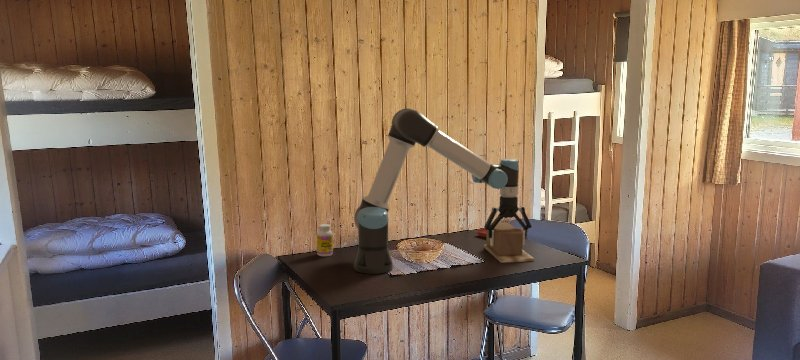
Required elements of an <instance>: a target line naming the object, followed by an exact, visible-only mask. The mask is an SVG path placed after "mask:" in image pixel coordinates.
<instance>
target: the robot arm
mask: <svg viewBox="0 0 800 360" xmlns="http://www.w3.org/2000/svg"><path fill="white" fill-rule="evenodd" d="M389 129H390V130H389V131H388V135H387V137H388V139H389V141H388V144H387V146H386V150H385V151H384V155H383V156H382V160H381V162H380V164H379V168H378V169H377V172H376V175H375V177H374V180H373V182H372V185H371V186H370V190H369V193H368V194H367V195H366V196H365V197H362V200H361V202H360V205H359V206H358V208H357V209H356V210H355V212H354V217H353V218H354V225H355V226H356V228H357V234H358V238H357V239H358V241H357V242H358V243H357V245H358V248H357V249H358V250H357V253H356V257H355V260H354V263H353V269H354V271H356V272H358V273H361V274H369V275H375V274H376V275H378V274H383V273H385V274H386V273H388V272H390V271H392V270H393V268H394V267H393V264H394V263H393V260H392V257H391V254H390V251H389V219H390V218H389V213H388V212H389V211H390V206H389V204H388V203H389V200H390V198H391V195H392V193H393V191H394V188H395V186H396V183H397V182H398V181H397V180H398V178H399V175H400V172H401V171H402V168H403V165H404V164H405V161H406V157H407V156H408V153H409V151H410V149H412V148H414V147H415V146H416V144H419V145H420V146H422V147H423V148H427V147H428V148H430V149H432V150H433V151H434V152H436V153H438V154H439V155H441V156H442V157H443V158H446V159H447V160H449V161H451V162H452V163H453V164H455V165H457V166H458V167H460V168H461V169H463V170H465V171H466V172H467V173H469V174H470V175H471V179H472V181H473V183H478V184H486V185H487V186H489V187H490V188H493V189H496V190H499V206H498V207H495V206H492V207H491V213H490V214H489V216H488V218H487V220H486V222H485V223H484V226H483V228H485V229H486V230H488V237H489V238H490V245H491V246H494V231H493V229H494V228H495V226H496V225H497V224H498V223H501V222H500V221H502V220H503V219H504V218H505V219H509V218H511V219H512V218H514V219H515V220H516V221H517V223H518V224H519V225H520V226H521V227H522V228H521V232H522V233H523V245H522V246H525V244H526V243H525V242H526V241H525V240H526V237H527V236H528V232H527V231H528V230H529V229H531V228H532V224H531V222H530V219H529V218H528V215H527V213H526V208H525V206H523V205H521V206H518V198H519V197H518V194H519V171H520V168H519V161H518V160H517V159H514V158H503V159H502V158H501V160H500V163H498V164H491V163H490V162H489V161H488V160H486V159H484V158H483V157H481V156H480V155H478V154H476V153H475V152H473V151H472V150H470V149H469V148H467V147H465V146H464V145H463V144H461V143H459V142H458V141H456V140H455V139H453V138H452V137H450V136H449V135H447V134H446V133H444V132H443V131H441V130H440V129H439V127H438V125H437V124H435V123H434V122H433V121H431V119H429V118H428V117H426V116H425V115H424V114H423V113H421V112H420V111H419V110H415V109H412V108H407V107H406V108H403V109H400V110H398V111H396V113H394V115H393V117H392V119H391V126H390V128H389ZM518 211H519V212H520V214H521V216H522V218H523V220H524V222H523V220H522V219H521V218H520V217H519V215H518V214H517V213H518ZM498 212H499V213H498ZM497 213H498V214H497ZM496 214H497V216H496ZM495 216H496V218H495ZM491 223H492V224H491ZM490 224H491V225H490Z"/></svg>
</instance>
